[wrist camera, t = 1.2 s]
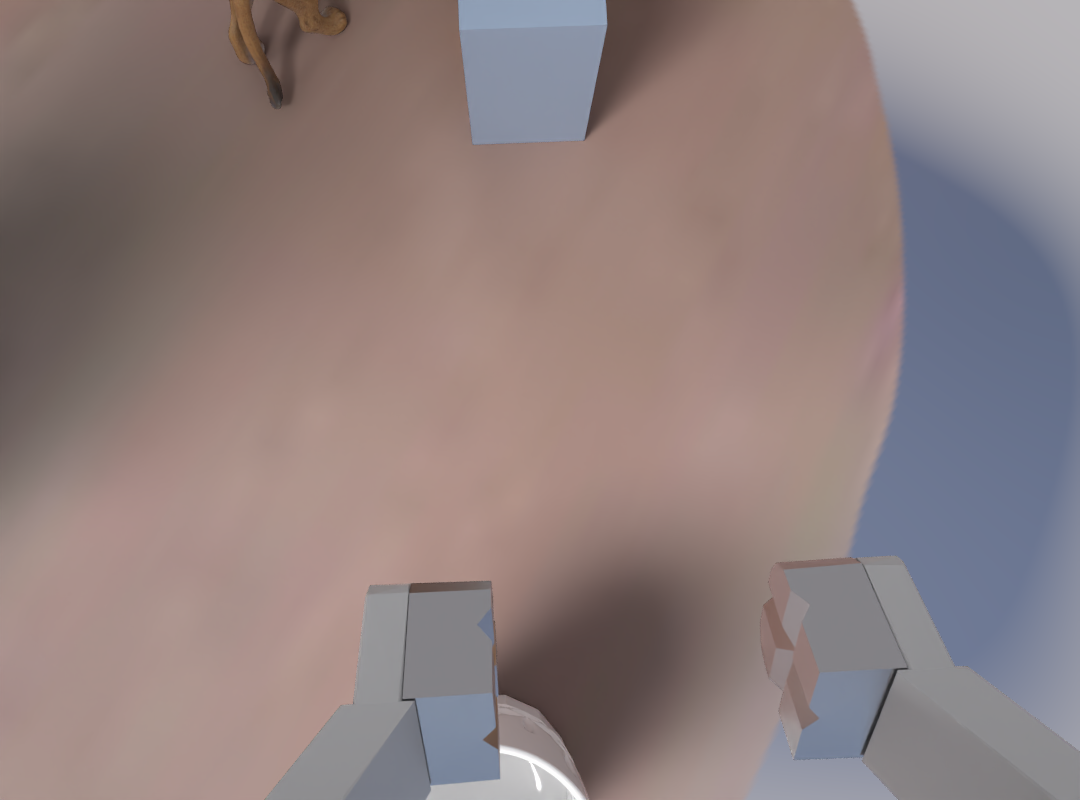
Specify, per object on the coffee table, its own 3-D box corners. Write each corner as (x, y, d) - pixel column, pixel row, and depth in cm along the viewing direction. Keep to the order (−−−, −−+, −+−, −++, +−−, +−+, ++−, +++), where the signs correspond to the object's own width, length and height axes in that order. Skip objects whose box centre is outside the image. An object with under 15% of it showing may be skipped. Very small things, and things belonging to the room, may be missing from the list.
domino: (472, 144, 40) (459, 30, 30) (471, 110, 40) (457, -16, 31) (584, 140, 40) (607, 24, 31) (582, 106, 41) (604, -20, 31)
